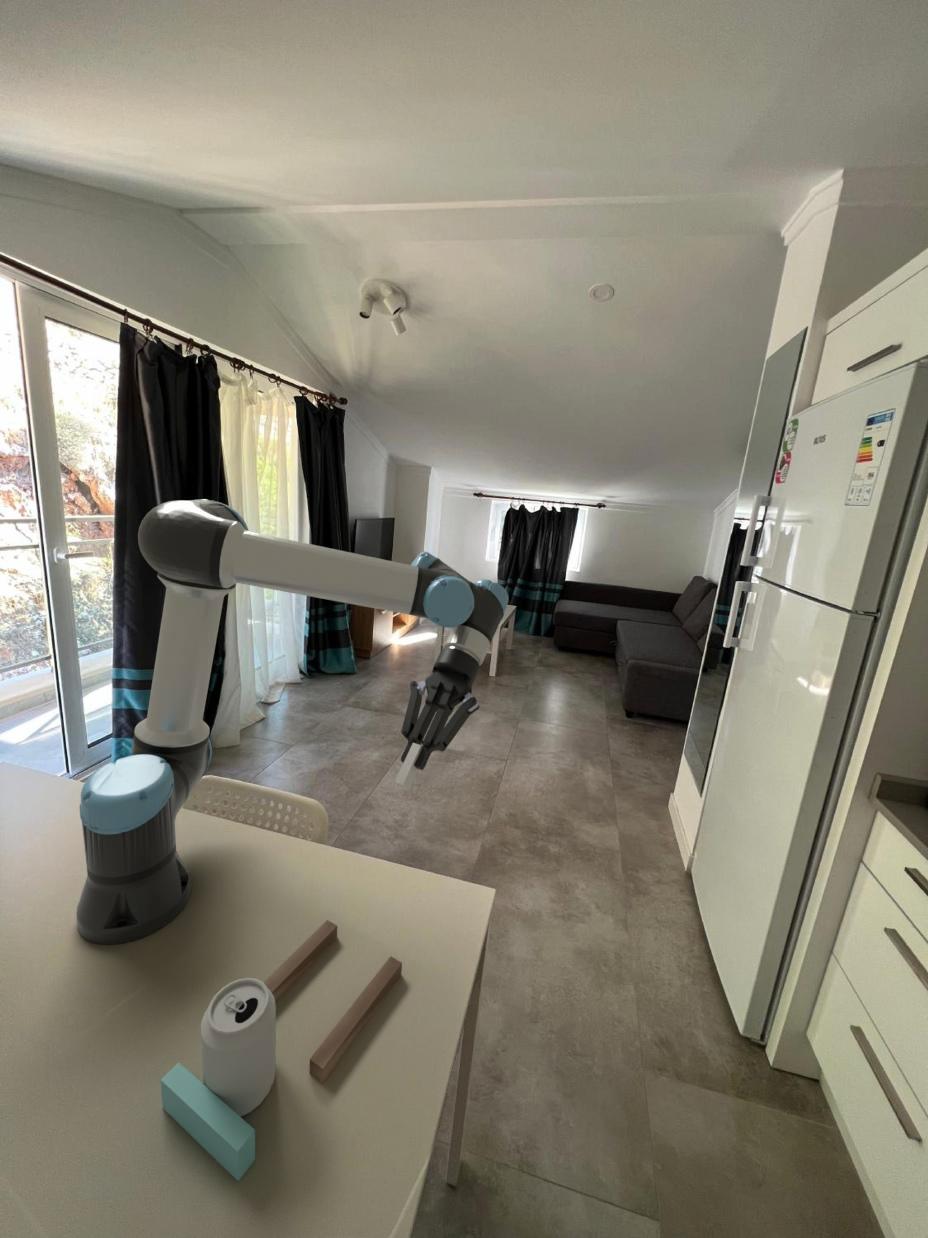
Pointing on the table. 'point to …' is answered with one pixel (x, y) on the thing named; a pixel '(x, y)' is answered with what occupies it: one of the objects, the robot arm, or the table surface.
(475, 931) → the table surface
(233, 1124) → the bar
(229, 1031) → the can
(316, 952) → the chute
